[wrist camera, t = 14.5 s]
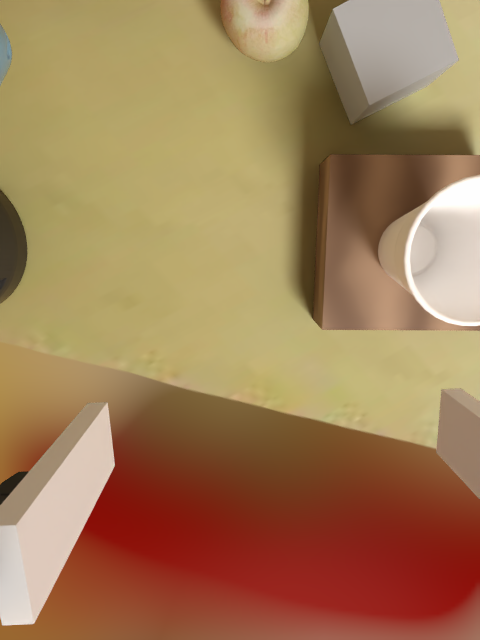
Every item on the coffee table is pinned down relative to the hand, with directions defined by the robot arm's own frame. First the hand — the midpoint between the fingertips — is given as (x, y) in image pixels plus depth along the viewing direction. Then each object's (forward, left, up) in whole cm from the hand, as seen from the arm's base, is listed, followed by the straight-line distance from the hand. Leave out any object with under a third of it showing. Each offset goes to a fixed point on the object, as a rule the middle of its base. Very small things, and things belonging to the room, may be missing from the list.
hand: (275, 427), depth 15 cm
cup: (+14, +6, -23) cm, 28 cm away
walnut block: (+15, +7, -28) cm, 32 cm away
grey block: (+11, +24, -28) cm, 39 cm away
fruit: (+1, +27, -28) cm, 39 cm away
